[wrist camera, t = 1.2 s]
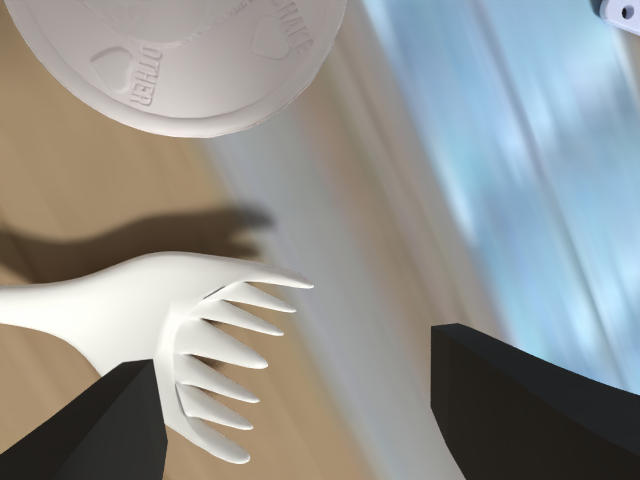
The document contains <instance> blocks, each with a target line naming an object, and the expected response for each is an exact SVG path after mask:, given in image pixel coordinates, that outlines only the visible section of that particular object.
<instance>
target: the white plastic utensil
mask: <svg viewBox="0 0 640 480" xmlns="http://www.w3.org/2000/svg"><path fill="white" fill-rule="evenodd" d="M244 281H255V282H265V283H272V284H279V285H285V286H291V287H297V288H313V287H314V284H313V283H312V282H311V281H310V280H309V279H307V278H305V277H304V276H302V275H300V274H298V273H296V272H293V271H291V270H287V269H284V268H280V267H277V266H274V265H269V264H264V263H259V262H254V261H248V260H242V259H236V258H229V257H222V256H214V255H207V254H200V253H191V252H179V251H166V252H156V253H150V254H145V255H142V256H138V257H135V258H132V259H129V260H127V261H124V262H121V263H119V264H116V265H114V266H111V267H109V268H106V269H103V270H101V271H98V272H95V273H92V274H89V275H86V276H83V277H80V278H75V279H71V280H67V281H61V282H53V283H42V284H0V323H3V324H10V325H16V326H21V327H26V328H32V329H36V330H39V331H43V332H46V333H50V334H52V335H54V336H57V337H59V338H61V339H63V340H65V341H67V342H68V343H69V344H71V345H72V346H74V347H75V348H76V349H77V350H78V351H80V352H81V353H82V354H83V355H84V356H85V357H86V358H87V359H88V360H89V362H90V363H91V364H92V365H93V366H94V368H95V369H96V370H97V371H98V373H99V374H100V375H101V377H103V376H104V375H105V374H107V373H108V372H109V371H111V370H112V369H113V368H115V367H116V366H118V365H119V364H121V363H122V362H128V361H137V360H145V359H153V362H154V367H155V373H156V378H157V384H158V390H159V395H160V401H161V406H162V412H163V418H164V423H165V424H166V425H167V426H169V427H170V428H172V429H174V430H175V431H177V432H178V433H180V434H181V435H183V436H184V437H185V438H187V439H188V440H190V441H191V442H192V443H194V444H196V445H197V446H199V447H201V448H203V449H205V450H207V451H208V452H209V453H211V454H212V455H214V456H216V457H219V458H221V459H223V460H225V461H228V462H231V463H236V464H244V463H246V462H248V461H249V460H250V455H249V453H248V452H247V451H246V450H245V449H244V448H243V447H242V446H240V445H239V444H237V443H236V442H234V441H233V440H231V439H229V438H228V437H226V436H224V435H223V434H221V433H220V432H218V431H217V430H215V429H214V428H212V427H211V426H209V425H208V424H206V423H205V422H204V421H203V420H202V419H201V418H203V419H206V420H209V421H213V422H216V423H219V424H223V425H226V426H230V427H235V428H238V429H245V430H250V429H252V428H254V427H253V426H252V424H251V423H250V422H249V421H248V420H247V419H245V418H244V417H242V416H241V415H240V414H238V413H236V412H235V411H233V410H231V409H230V408H228V407H226V406H225V405H223V404H222V403H220V402H218V401H217V400H215V399H214V398H212V397H210V396H209V395H207V394H206V393H204V392H203V391H202V390H200V389H199V388H197V387H201V388H204V389H207V390H210V391H213V392H216V393H219V394H222V395H225V396H228V397H232V398H235V399H238V400H242V401H246V402H251V403H256V402H259V399H258V398H257V397H256V396H255V395H254V394H253V393H252V392H250V391H249V390H247V389H246V388H244V387H243V386H241V385H239V384H238V383H236V382H234V381H233V380H231V379H229V378H228V377H226V376H224V375H223V374H221V373H219V372H218V371H216V370H214V369H212V368H211V367H209V366H208V365H206V364H204V363H203V362H201V361H200V360H198V359H197V358H195V357H194V356H192V355H191V354H193V355H198V356H203V357H207V358H212V359H216V360H220V361H223V362H227V363H231V364H235V365H240V366H244V367H248V368H256V369H262V368H265V367H268V364H267V362H266V360H265V359H264V358H263V357H262V356H260V355H259V354H258V353H257V352H255V351H254V350H253V349H251V348H250V347H248V346H246V345H245V344H243V343H242V342H240V341H239V340H237V339H235V338H233V337H232V336H230V335H228V334H227V333H225V332H223V331H222V330H220V329H218V328H217V327H215V326H213V325H212V324H210V323H208V322H207V321H205V320H203V319H202V318H205V319H210V320H215V321H220V322H224V323H228V324H232V325H236V326H240V327H243V328H247V329H251V330H254V331H258V332H262V333H266V334H271V335H276V336H277V335H284V333H283V332H282V331H281V330H280V329H279V328H277V327H275V326H274V325H272V324H270V323H268V322H266V321H264V320H262V319H260V318H259V317H257V316H255V315H253V314H251V313H248V312H246V311H244V310H242V309H240V308H238V307H236V306H234V305H232V304H230V303H228V302H226V301H224V300H230V301H236V302H242V303H247V304H251V305H256V306H260V307H265V308H269V309H273V310H278V311H284V312H296V310H295V309H294V308H293V307H292V306H291V305H289V304H287V303H285V302H284V301H282V300H280V299H278V298H276V297H274V296H272V295H270V294H267V293H265V292H263V291H261V290H259V289H257V288H255V287H253V286H251V285H249V284H247V283H245V282H244ZM222 299H223V300H222ZM196 386H197V387H196Z"/></svg>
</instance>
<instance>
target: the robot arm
mask: <svg viewBox="0 0 640 480" xmlns="http://www.w3.org/2000/svg"><path fill="white" fill-rule="evenodd" d="M623 8H625V9H626V11H627V14H626V17H625V19H624V18H623V17H622V10H623ZM600 17H601V18H602V20H603V21H604V22H606V23H608V24H611V25H613V26H616V27H618V28H621V29H623V30H626V31H629V32H631V33H634V34H636V35H639V36H640V0H603V1H602V3H601V6H600ZM431 409H432V411H433V414H434V416H435V419H436V421H437V424H438V426H439V429H440V431H441V433H442V436H443V438H444V440H445V442H446V445H447V447H448V449H449V451H450V452H451V454H452V456H453V458H454V459H455V461H456V463H457V465H458V466H459V468H460V470H461V472H462V473H463V475H464V477H465V479H466V480H640V395H637V394H633V393H630V392H627V391H624V390H621V389H618V388H615V387H611V386H609V385H606V384H603V383H600V382H597V381H595V380H592V379H589V378H587V377H584V376H582V375H579V374H576V373H574V372H571V371H569V370H566V369H564V368H561V367H559V366H556V365H554V364H552V363H549V362H547V361H544V360H542V359H540V358H538V357H535V356H533V355H531V354H528V353H526V352H524V351H522V350H520V349H517V348H515V347H513V346H511V345H509V344H506V343H504V342H502V341H500V340H498V339H495V338H493V337H491V336H489V335H487V334H484V333H482V332H480V331H477V330H475V329H473V328H470V327H468V326H465V325H462V324H459V323H455V324H447V325H438V326H431ZM167 444H168V440H167V434H166V429H165V423H164V418H163V412H162V406H161V401H160V395H159V390H158V384H157V378H156V373H155V367H154V362H153V359H145V360H137V361H128V362H122V363H121V364H119V365H118V366H116V367H115V368H113V369H112V370H111V371H109V372H108V373H107V374H105V375H104V376H103V377H101V378H100V379H99V380H98V381H96V382H95V383H94V384H93V385H91V386H90V387H89V388H88V389H86V390H85V391H84V392H83V393H81V394H80V395H79V396H78V397H76V398H75V399H74V400H73V401H71V402H70V403H69V404H68V405H66V406H65V407H64V408H63V409H61V410H60V411H59V412H57V413H56V414H55V415H54V416H52V417H51V418H50V419H48V420H47V421H46V422H44V423H43V424H42V425H40V426H39V427H38V428H36V429H35V430H33V431H32V432H31V433H29V434H28V435H27V436H25V437H24V438H22V439H21V440H20V441H18V442H17V443H16V444H14V445H13V446H12V447H10V448H9V449H7V450H6V451H5V452H3V453H2V454H0V480H162V478H163V472H164V465H165V458H166V451H167Z"/></svg>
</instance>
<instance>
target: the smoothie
mask: <svg viewBox="0 0 640 480" xmlns="http://www.w3.org/2000/svg"><path fill="white" fill-rule="evenodd" d="M347 1H348V0H4V3H5V5H6V7H7V10H8V12H9V14H10V16H11V18H12V20H13V22H14V24H15V26H16V27H17V29H18V31H19V32H20V34H21V35H22V37H23V39H24V40H25V42H26V43H27V45H28V46H29V48H30V49H31V50H32V52H33V53H34V54H35V56H36V57H37V58H38V60H39V61H40V62H41V63H42V64H43V65H44V67H45V68H46V69H47V70H48V71H49V72H50V73H51V74H52V75H53V76H54V77H55V78H56V79H57V80H58V81H59V82H60V83H61V84H62V85H63V86H64V87H65V88H66V89H68V90H69V91H70V92H71V93H72V94H74V95H75V96H76V97H77V98H79V99H80V100H82V101H83V102H84V103H86V104H87V105H89V106H90V107H92V108H93V109H95V110H97V111H99V112H100V113H102V114H104V115H106V116H107V117H109V118H112V119H114V120H116V121H118V122H120V123H122V124H125V125H128V126H130V127H133V128H136V129H139V130H142V131H146V132H150V133H154V134H160V135H166V136H173V137H201V138H212V137H216V136H220V135H225V134H229V133H234V132H238V131H242V130H247V129H249V128H251V127H253V126H255V125H257V124H259V123H261V122H262V121H264V120H266V119H268V118H270V117H272V116H274V115H275V114H277V113H279V112H281V111H283V110H284V109H285V108H286V107H287V106H288V105H289V104H290V103H291V102H292V101H293V100H294V99H295V98H296V97H297V96H298V95H299V94H300V93H301V92H303V91H304V90H305V89H306V88H307V87H308V86H309V85H310V84H311V83H312V81H313V79H314V78H315V76H316V74H317V73H318V71H319V69H320V68H321V66H322V65H323V63H324V61H325V60H326V58H327V56H328V55H329V53H330V51H331V50H332V48H333V44H334V42H335V40H336V38H337V35H338V32H339V30H340V27H341V24H342V21H343V18H344V14H345V10H346V6H347Z"/></svg>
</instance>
